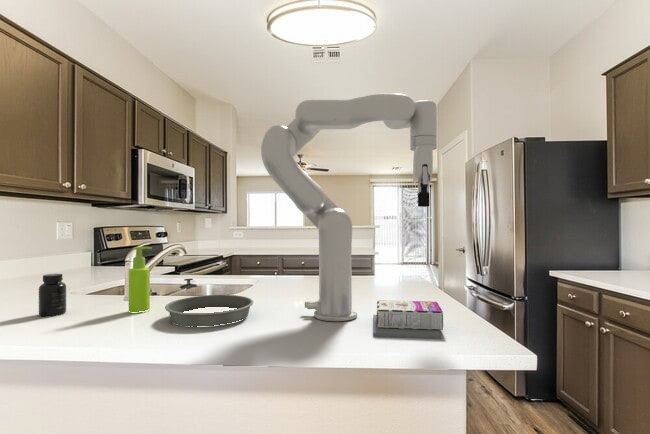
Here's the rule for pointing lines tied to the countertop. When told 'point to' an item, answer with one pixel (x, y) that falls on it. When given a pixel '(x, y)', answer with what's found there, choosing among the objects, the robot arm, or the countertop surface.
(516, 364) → the countertop surface
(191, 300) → the baking ring
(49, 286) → the supplement bottle
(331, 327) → the countertop surface
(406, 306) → the candy bar box
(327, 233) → the robot arm
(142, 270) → the soap dispenser
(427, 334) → the mat
